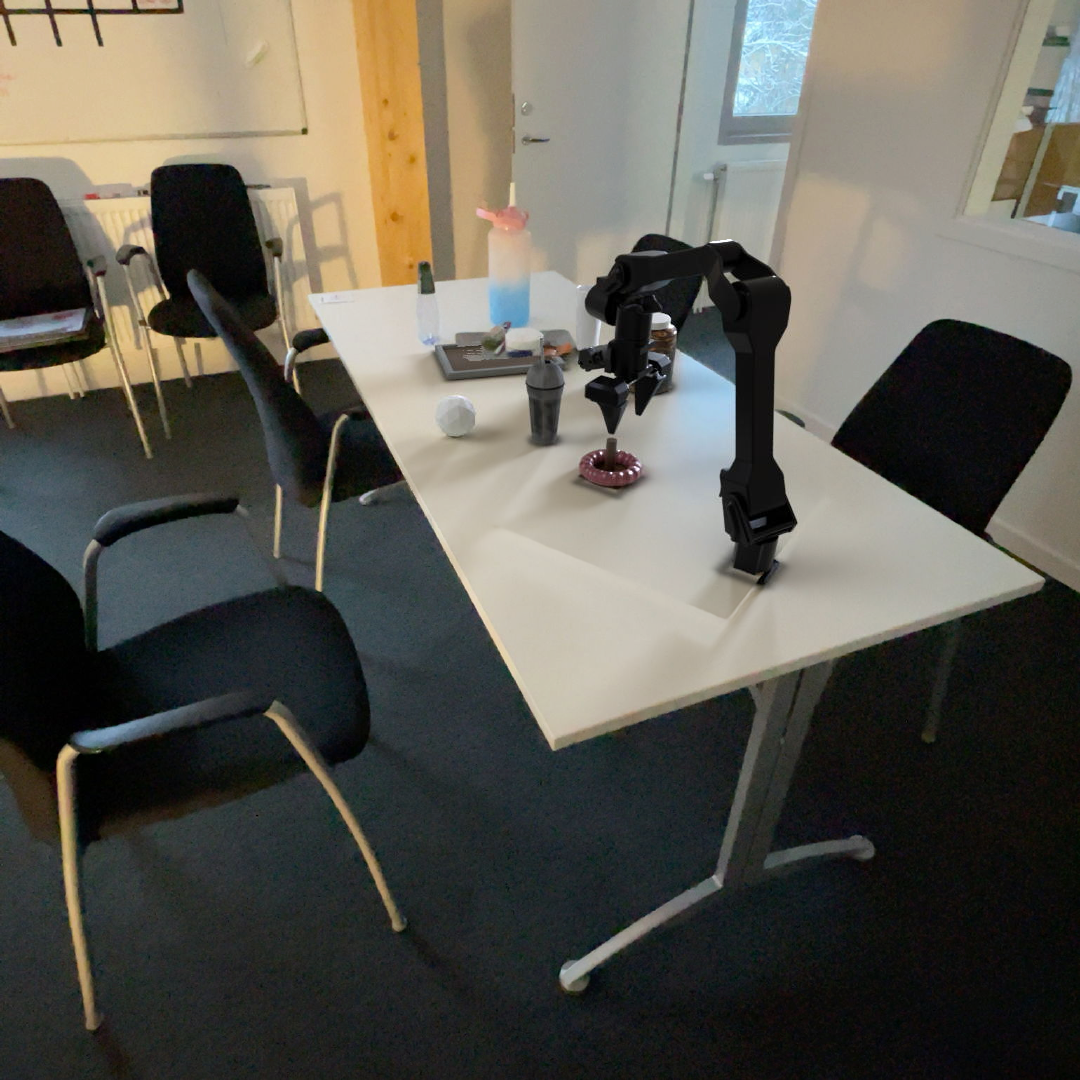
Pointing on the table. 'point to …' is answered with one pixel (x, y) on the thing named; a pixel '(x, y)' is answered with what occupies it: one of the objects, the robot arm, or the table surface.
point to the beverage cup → (544, 398)
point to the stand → (610, 461)
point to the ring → (610, 477)
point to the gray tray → (483, 363)
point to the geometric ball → (455, 415)
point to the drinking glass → (585, 320)
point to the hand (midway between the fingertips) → (625, 424)
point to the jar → (663, 346)
